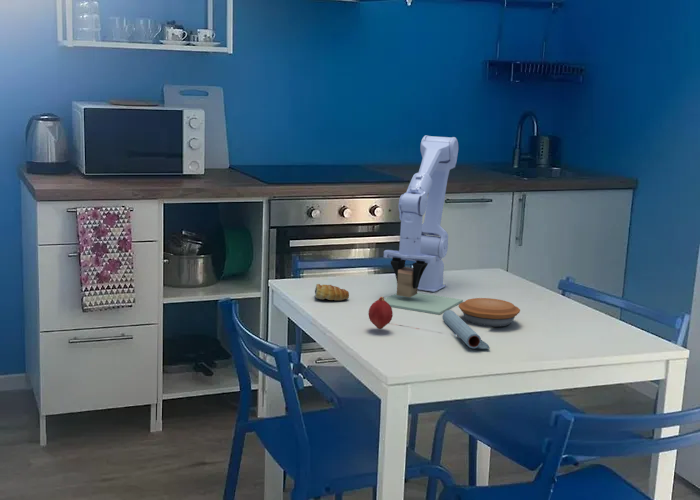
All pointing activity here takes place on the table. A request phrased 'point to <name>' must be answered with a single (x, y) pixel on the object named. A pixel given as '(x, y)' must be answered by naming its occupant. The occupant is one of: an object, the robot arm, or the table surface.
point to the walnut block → (405, 282)
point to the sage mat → (423, 303)
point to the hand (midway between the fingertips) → (407, 286)
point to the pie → (489, 311)
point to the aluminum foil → (463, 330)
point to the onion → (380, 313)
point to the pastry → (330, 292)
